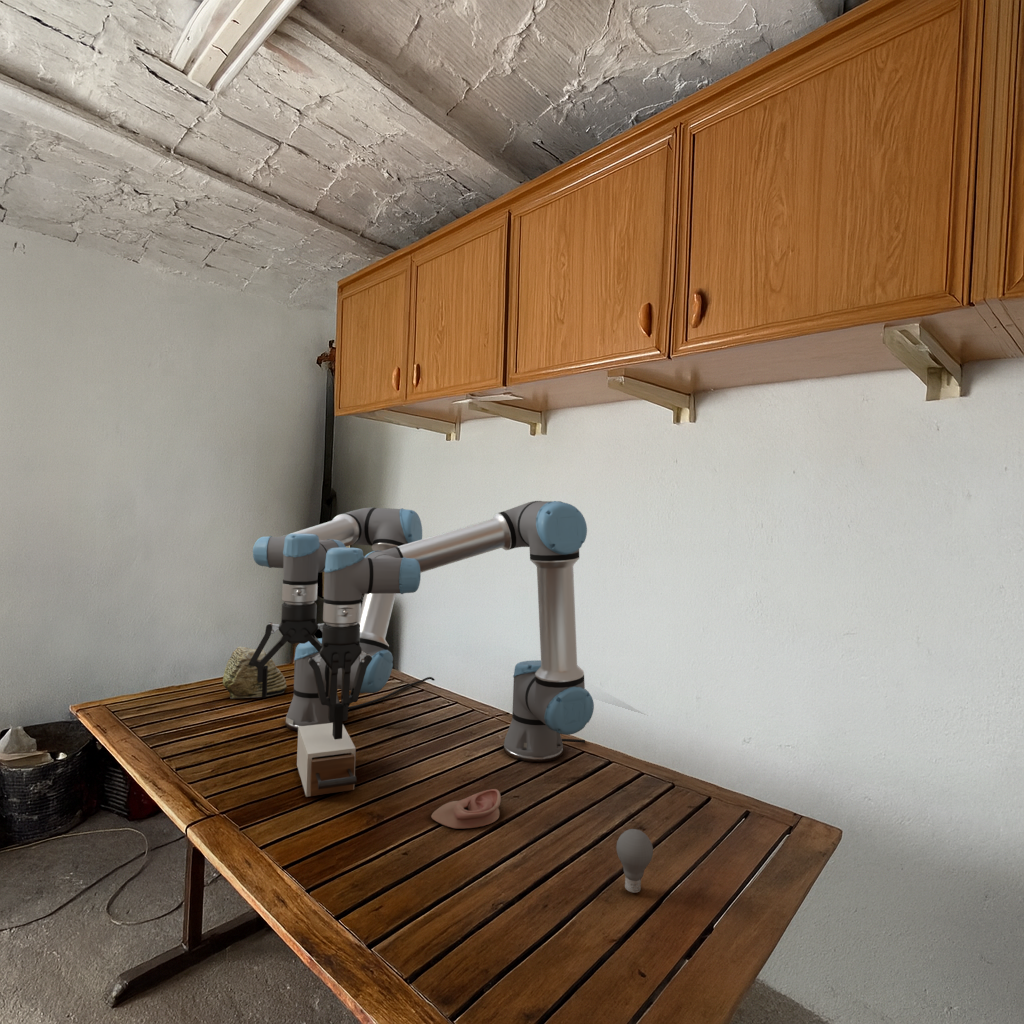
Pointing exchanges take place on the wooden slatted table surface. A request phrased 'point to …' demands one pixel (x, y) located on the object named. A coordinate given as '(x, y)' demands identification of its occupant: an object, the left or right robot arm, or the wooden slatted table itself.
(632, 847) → the light bulb
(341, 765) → the drawer
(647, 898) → the wooden slatted table surface
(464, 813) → the anatomical model
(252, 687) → the fossil
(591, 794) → the wooden slatted table surface
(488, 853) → the wooden slatted table surface
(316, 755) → the cabinet
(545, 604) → the right robot arm
